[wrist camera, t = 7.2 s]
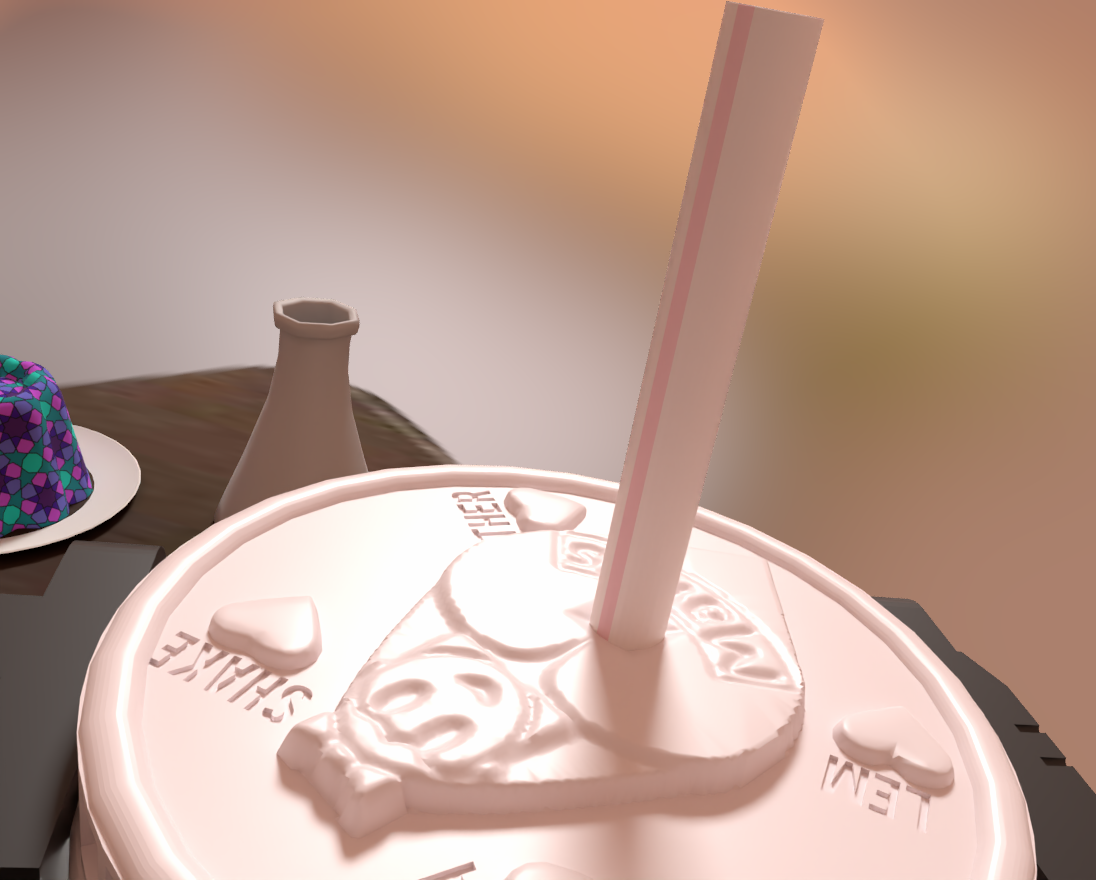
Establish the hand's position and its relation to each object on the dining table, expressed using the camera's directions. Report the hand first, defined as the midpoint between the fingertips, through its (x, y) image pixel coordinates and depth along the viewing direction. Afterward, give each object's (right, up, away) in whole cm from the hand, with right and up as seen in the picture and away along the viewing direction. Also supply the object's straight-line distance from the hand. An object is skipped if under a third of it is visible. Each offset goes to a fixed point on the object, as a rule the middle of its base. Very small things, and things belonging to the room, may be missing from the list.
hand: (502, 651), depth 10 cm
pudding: (-23, 0, +33) cm, 40 cm away
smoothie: (-1, -8, +1) cm, 9 cm away
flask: (-10, -2, +33) cm, 34 cm away
